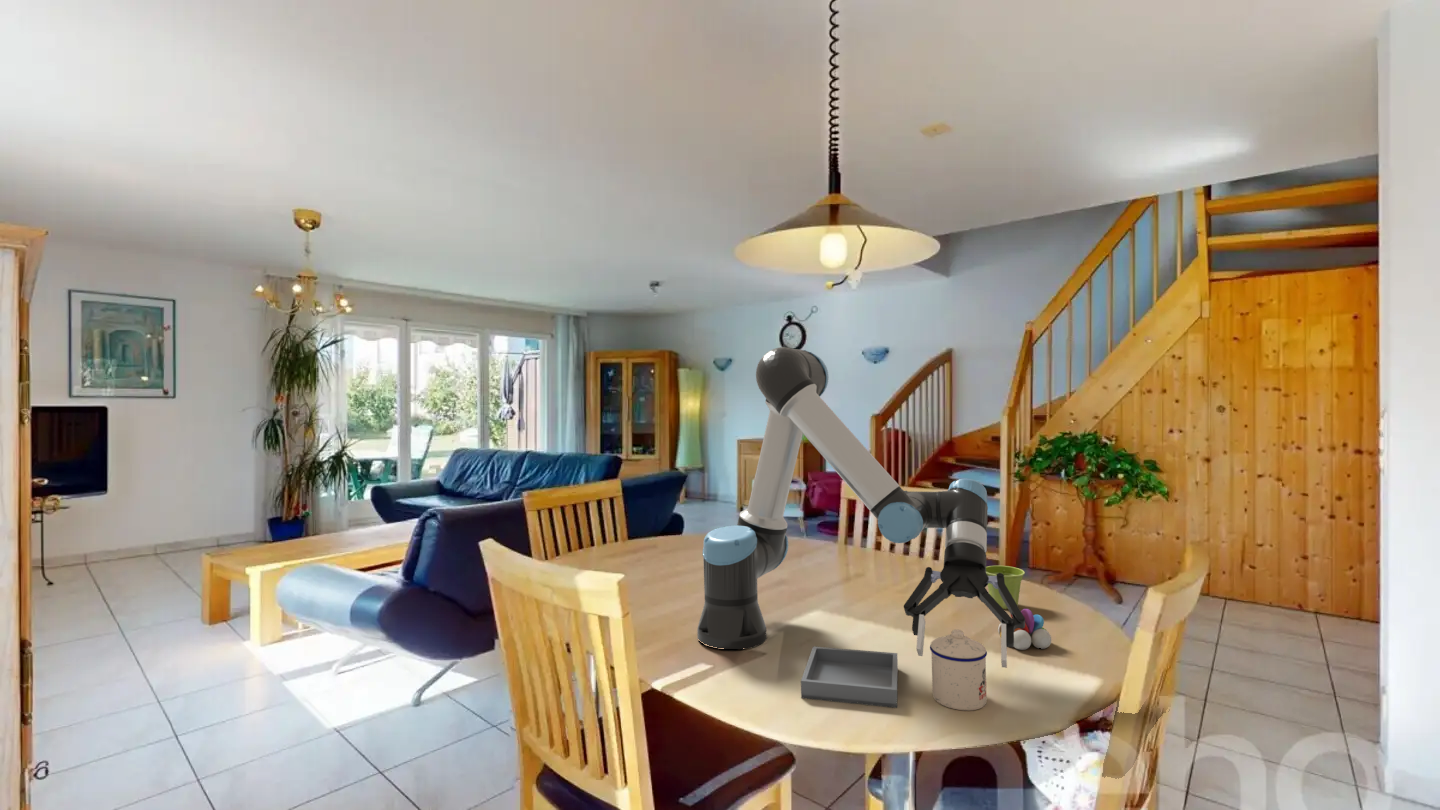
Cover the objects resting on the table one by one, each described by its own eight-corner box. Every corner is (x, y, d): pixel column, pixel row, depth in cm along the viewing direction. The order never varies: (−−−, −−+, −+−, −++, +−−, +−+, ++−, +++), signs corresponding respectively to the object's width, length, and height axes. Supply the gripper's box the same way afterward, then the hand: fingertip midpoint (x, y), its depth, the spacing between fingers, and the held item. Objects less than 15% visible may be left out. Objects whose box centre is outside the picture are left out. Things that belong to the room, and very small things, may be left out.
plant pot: (1030, 612, 152) (1029, 575, 151) (988, 611, 153) (988, 575, 153) (1018, 600, 161) (1017, 565, 161) (979, 599, 162) (978, 565, 162)
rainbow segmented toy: (991, 637, 136) (990, 603, 136) (1035, 635, 137) (1034, 601, 137) (1012, 653, 128) (1011, 617, 128) (1058, 650, 128) (1057, 614, 128)
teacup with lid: (994, 713, 103) (992, 642, 103) (935, 710, 105) (933, 639, 105) (977, 681, 115) (976, 617, 115) (925, 679, 117) (923, 615, 117)
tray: (801, 698, 110) (800, 680, 110) (813, 661, 126) (813, 646, 126) (897, 708, 106) (896, 689, 106) (897, 668, 121) (897, 653, 121)
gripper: (1037, 566, 120) (1042, 678, 106) (901, 556, 131) (890, 657, 117) (1037, 544, 115) (1042, 659, 102) (896, 536, 126) (883, 638, 112)
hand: (960, 658), depth 109 cm, fingers open, 13 cm apart
